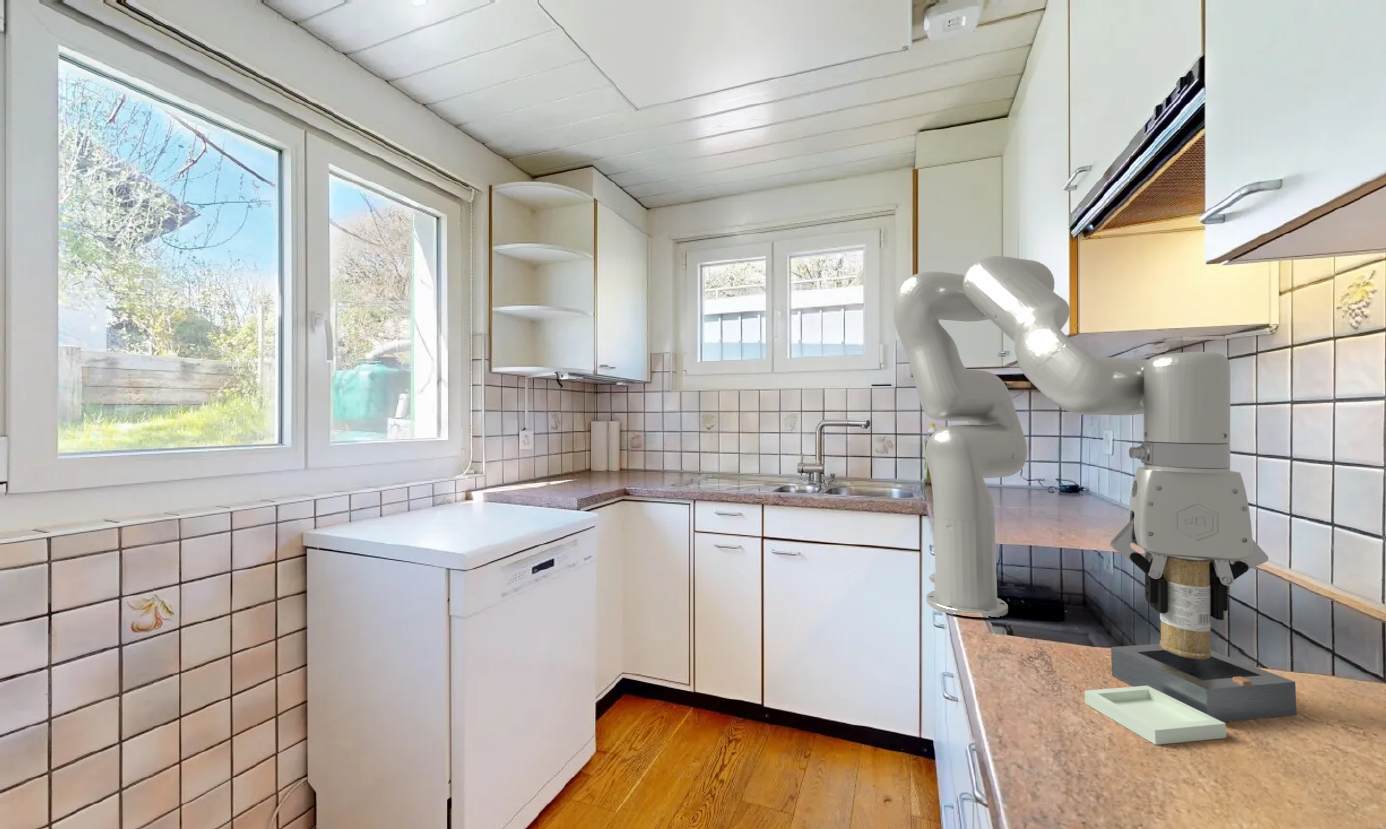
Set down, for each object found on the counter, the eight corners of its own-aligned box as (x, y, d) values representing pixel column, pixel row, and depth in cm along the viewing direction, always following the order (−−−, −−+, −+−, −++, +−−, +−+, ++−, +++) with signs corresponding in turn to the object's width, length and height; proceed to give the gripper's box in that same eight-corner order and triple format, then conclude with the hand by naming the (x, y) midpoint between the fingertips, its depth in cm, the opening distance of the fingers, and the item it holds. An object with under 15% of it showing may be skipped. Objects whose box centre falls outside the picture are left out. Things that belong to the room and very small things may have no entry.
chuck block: (1112, 675, 66) (1110, 644, 67) (1188, 669, 68) (1187, 639, 68) (1207, 723, 56) (1206, 686, 56) (1296, 715, 57) (1295, 679, 57)
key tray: (1085, 703, 60) (1084, 690, 60) (1147, 698, 61) (1147, 685, 61) (1155, 744, 52) (1154, 730, 52) (1226, 737, 53) (1225, 723, 53)
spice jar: (1183, 643, 65) (1183, 534, 65) (1223, 660, 61) (1223, 543, 61) (1148, 644, 65) (1148, 534, 65) (1185, 662, 60) (1185, 543, 60)
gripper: (1108, 458, 63) (1108, 613, 63) (1304, 463, 56) (1303, 636, 56) (1089, 453, 70) (1089, 593, 70) (1261, 457, 63) (1261, 612, 63)
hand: (1185, 611), depth 63 cm, fingers closed on spice jar, 4 cm apart
